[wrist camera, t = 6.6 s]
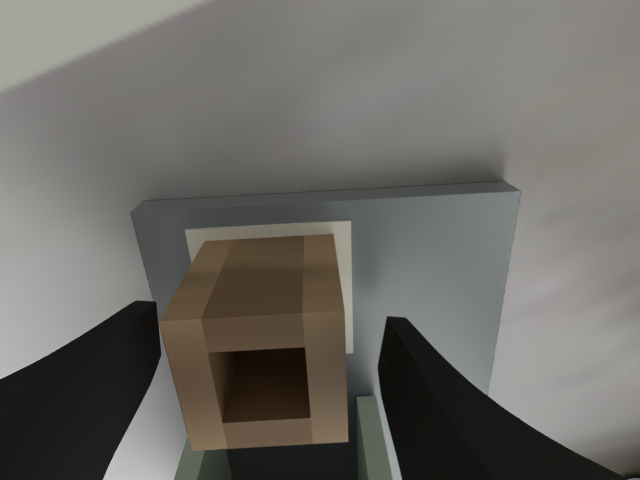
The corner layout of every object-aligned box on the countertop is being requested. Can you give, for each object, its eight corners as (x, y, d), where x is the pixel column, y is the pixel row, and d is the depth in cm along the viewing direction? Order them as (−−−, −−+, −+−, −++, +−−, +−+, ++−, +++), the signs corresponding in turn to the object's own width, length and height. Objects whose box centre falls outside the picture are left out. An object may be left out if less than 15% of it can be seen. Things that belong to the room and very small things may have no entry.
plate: (461, 483, 21) (470, 509, 20) (215, 497, 21) (210, 524, 20) (505, 181, 14) (522, 191, 13) (143, 200, 14) (129, 213, 13)
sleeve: (337, 338, 15) (348, 441, 11) (223, 344, 15) (192, 451, 11) (333, 234, 14) (344, 310, 9) (204, 240, 14) (158, 321, 9)
